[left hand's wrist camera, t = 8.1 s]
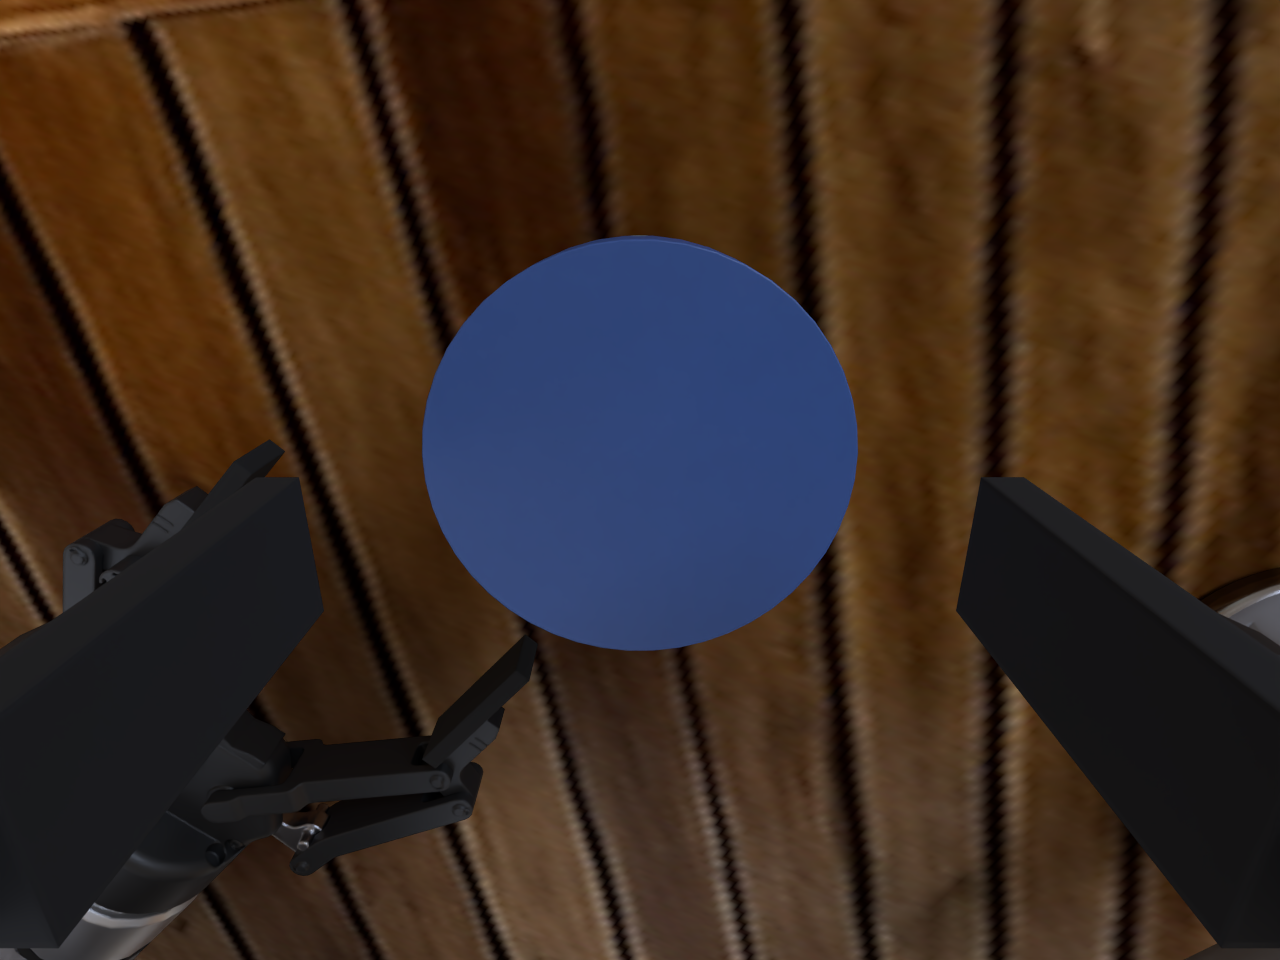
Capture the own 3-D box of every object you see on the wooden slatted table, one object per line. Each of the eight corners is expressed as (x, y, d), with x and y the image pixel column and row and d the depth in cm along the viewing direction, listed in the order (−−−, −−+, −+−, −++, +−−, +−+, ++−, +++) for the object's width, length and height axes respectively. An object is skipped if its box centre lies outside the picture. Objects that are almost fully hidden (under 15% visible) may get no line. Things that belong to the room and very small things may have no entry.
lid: (919, 388, 18) (950, 408, 16) (688, 669, 21) (693, 712, 19) (575, 142, 16) (567, 133, 14) (375, 493, 19) (348, 524, 17)
